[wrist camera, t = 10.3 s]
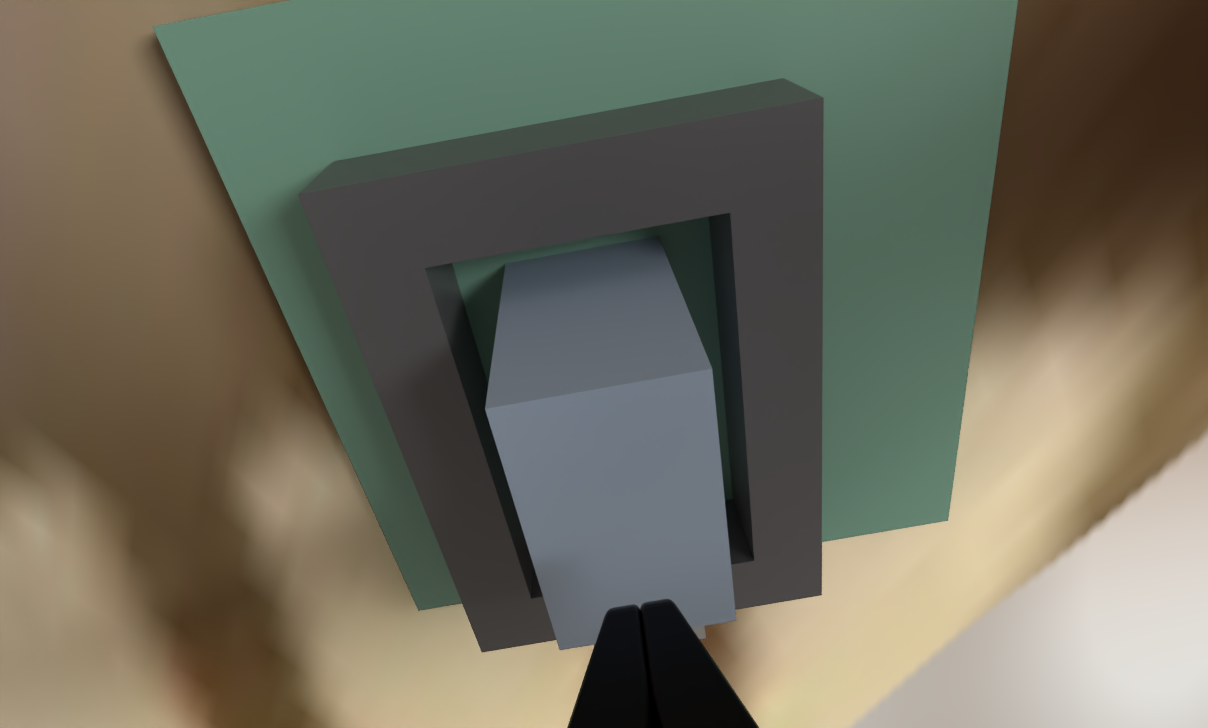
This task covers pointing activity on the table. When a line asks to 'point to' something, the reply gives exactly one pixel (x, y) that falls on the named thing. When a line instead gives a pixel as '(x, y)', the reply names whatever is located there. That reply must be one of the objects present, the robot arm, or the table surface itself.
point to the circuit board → (622, 79)
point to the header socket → (574, 212)
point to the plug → (610, 437)
